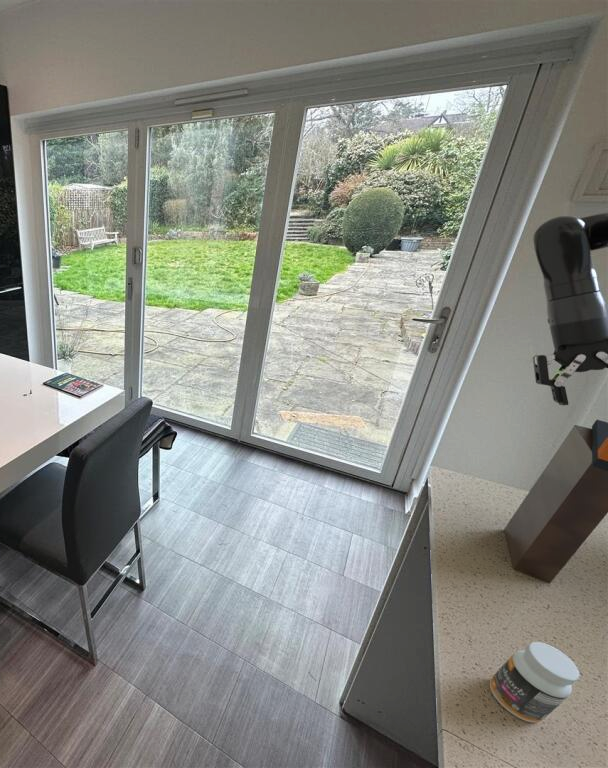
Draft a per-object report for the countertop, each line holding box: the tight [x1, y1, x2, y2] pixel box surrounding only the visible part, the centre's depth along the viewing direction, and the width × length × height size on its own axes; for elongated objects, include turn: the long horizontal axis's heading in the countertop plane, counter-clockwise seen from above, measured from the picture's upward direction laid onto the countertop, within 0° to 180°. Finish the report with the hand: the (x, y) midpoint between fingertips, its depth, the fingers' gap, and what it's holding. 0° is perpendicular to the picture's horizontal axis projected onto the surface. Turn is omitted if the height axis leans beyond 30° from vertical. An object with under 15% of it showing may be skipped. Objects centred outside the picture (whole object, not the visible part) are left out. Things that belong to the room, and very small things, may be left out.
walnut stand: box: [503, 424, 608, 584], centre depth 73 cm, size 5×12×26 cm, turn 145°
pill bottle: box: [489, 641, 580, 723], centre depth 54 cm, size 6×6×10 cm
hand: (595, 401), depth 78 cm, fingers open, 8 cm apart
